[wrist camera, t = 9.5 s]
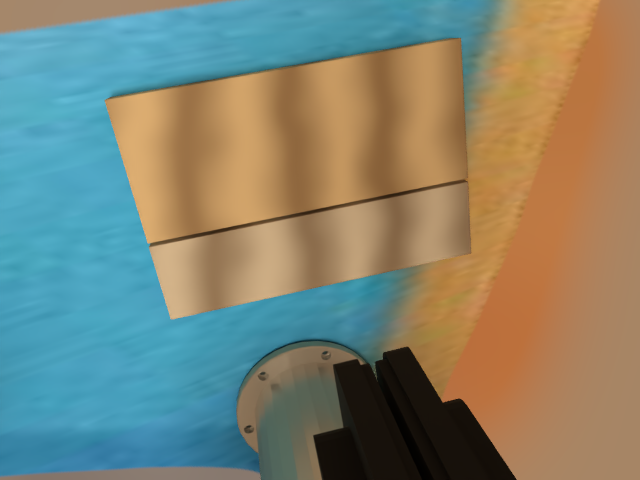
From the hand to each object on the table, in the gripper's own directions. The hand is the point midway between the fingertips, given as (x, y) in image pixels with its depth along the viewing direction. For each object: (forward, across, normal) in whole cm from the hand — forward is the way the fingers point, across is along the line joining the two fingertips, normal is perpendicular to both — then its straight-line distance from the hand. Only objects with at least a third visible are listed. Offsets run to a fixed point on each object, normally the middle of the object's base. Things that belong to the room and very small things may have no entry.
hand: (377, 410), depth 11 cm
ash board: (+29, -2, +8) cm, 30 cm away
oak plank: (+29, -2, 0) cm, 29 cm away
